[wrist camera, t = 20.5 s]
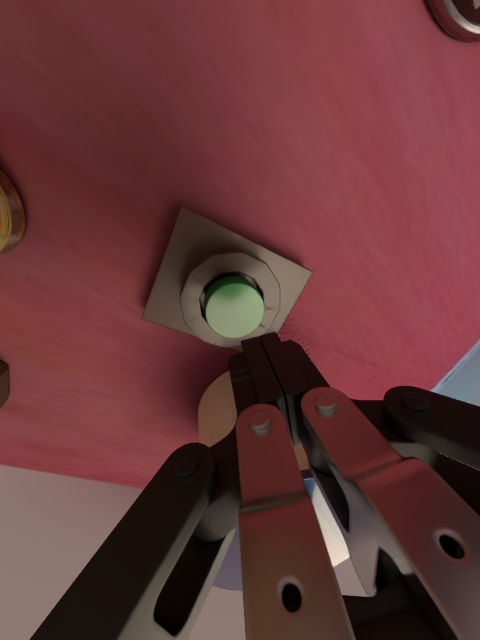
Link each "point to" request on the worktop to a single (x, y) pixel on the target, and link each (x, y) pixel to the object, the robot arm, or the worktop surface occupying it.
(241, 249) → the switch block
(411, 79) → the worktop surface
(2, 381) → the beer bottle
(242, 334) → the button
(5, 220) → the sauce bottle
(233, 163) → the worktop surface
